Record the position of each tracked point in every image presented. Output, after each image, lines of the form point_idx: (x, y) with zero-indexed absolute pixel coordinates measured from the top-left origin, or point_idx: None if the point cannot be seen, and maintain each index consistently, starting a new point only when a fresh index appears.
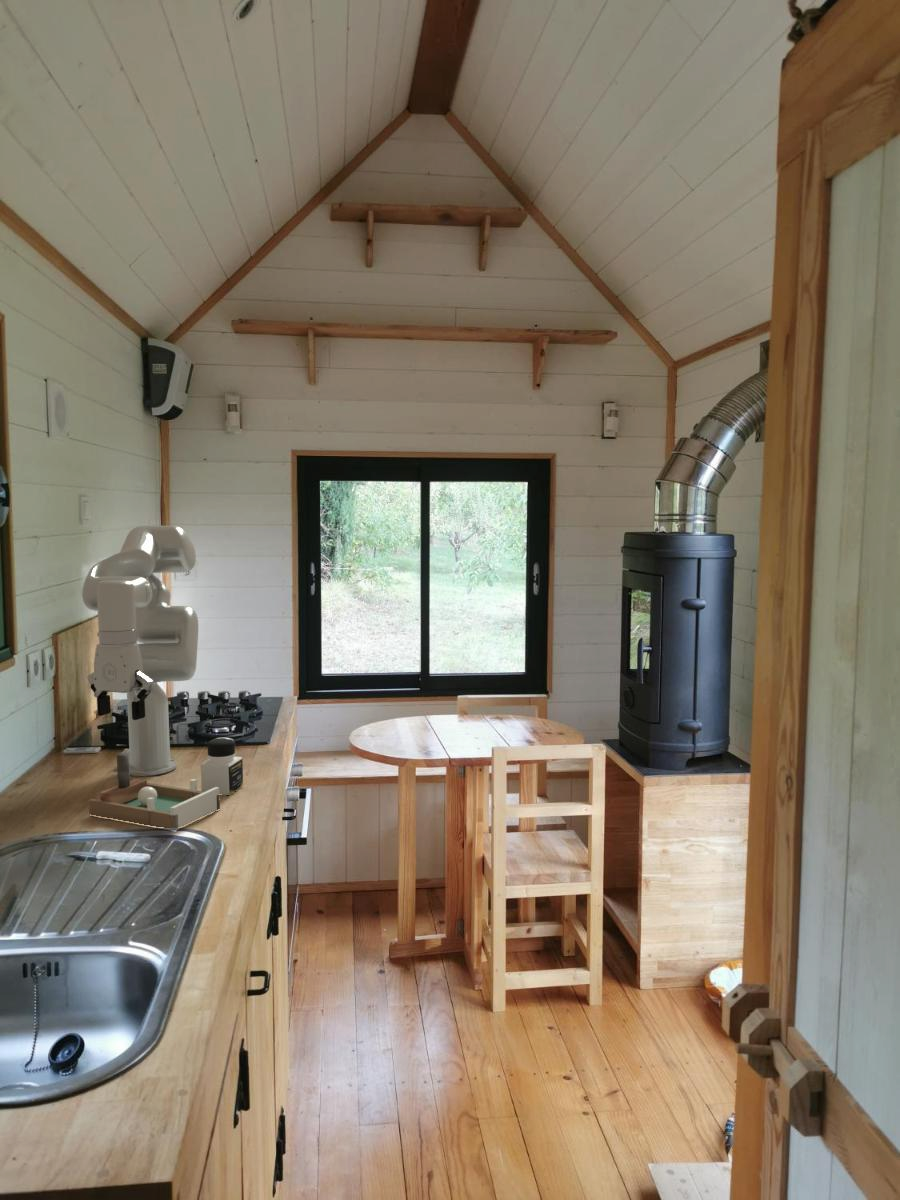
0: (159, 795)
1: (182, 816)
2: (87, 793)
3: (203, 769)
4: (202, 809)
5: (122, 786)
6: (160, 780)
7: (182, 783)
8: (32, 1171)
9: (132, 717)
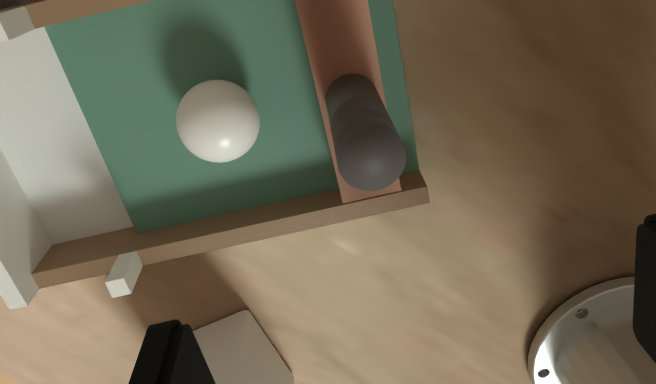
0: (290, 197)
1: None
2: (620, 79)
3: (228, 376)
4: None
5: (336, 83)
6: (488, 305)
7: (396, 328)
8: None
9: (171, 332)
